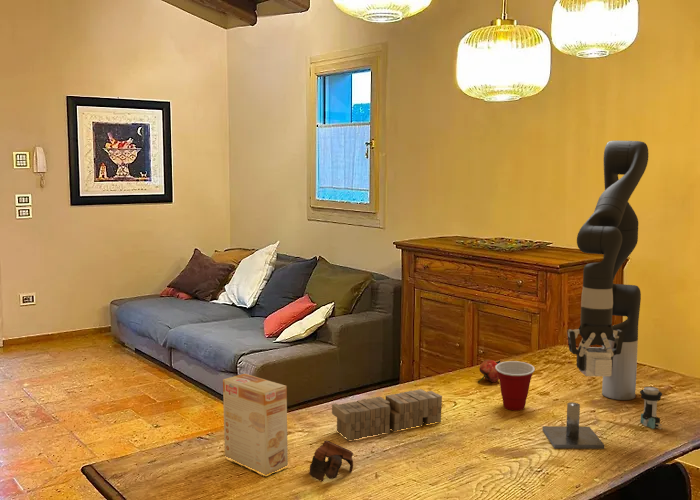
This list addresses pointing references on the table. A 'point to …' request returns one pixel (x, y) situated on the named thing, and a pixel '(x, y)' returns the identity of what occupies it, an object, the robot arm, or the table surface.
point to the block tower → (387, 413)
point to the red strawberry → (489, 370)
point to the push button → (650, 407)
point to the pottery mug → (329, 460)
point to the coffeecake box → (255, 422)
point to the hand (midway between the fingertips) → (594, 370)
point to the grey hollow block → (597, 362)
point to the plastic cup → (514, 383)
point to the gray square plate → (572, 432)
